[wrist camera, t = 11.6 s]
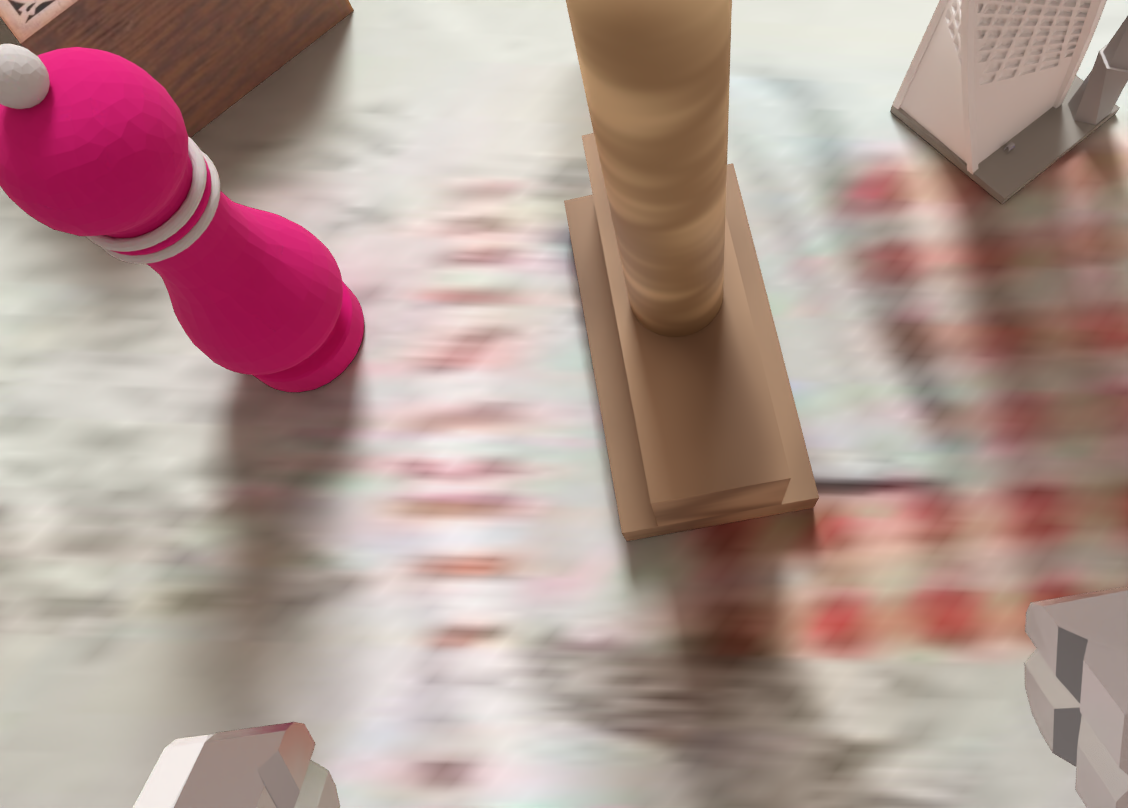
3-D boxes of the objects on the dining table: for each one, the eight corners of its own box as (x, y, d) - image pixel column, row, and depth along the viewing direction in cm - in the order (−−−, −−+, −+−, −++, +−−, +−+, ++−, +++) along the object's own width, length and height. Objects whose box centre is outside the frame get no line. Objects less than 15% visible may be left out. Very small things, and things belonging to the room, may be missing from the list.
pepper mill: (404, 326, 42) (157, 32, 23) (296, 432, 41) (-50, 214, 22) (314, 243, 44) (25, -84, 26) (210, 342, 44) (-167, 77, 25)
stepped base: (626, 541, 37) (609, 511, 31) (570, 222, 42) (547, 143, 36) (813, 507, 36) (833, 470, 30) (731, 187, 42) (735, 100, 35)
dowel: (638, 345, 33) (575, 54, 18) (621, 262, 34) (551, -76, 19) (732, 326, 32) (749, 12, 17) (712, 243, 34) (712, -118, 19)
